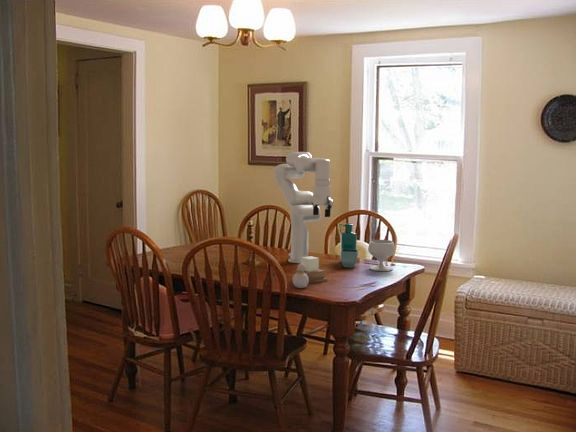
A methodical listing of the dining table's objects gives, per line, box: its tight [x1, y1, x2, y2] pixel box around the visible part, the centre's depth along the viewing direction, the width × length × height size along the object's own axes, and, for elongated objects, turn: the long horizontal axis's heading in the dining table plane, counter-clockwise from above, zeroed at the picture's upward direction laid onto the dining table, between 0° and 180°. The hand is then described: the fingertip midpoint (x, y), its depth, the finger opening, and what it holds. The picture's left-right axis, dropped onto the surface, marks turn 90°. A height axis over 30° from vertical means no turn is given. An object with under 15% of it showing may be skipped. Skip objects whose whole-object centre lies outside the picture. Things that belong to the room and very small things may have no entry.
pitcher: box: [338, 222, 358, 264], centre depth 342 cm, size 10×8×22 cm
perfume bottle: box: [291, 262, 309, 289], centre depth 280 cm, size 8×10×12 cm
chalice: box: [367, 239, 396, 272], centre depth 324 cm, size 14×14×15 cm
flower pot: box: [340, 249, 359, 269], centre depth 330 cm, size 9×9×9 cm
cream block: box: [301, 255, 320, 272], centre depth 296 cm, size 6×6×6 cm
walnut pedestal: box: [291, 268, 328, 285], centre depth 297 cm, size 12×12×5 cm
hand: (321, 215), depth 319 cm, fingers open, 9 cm apart
